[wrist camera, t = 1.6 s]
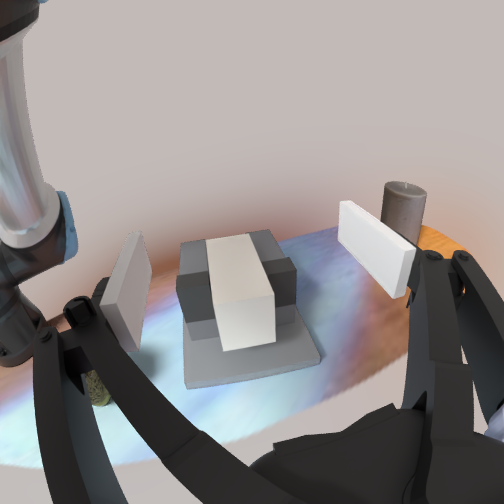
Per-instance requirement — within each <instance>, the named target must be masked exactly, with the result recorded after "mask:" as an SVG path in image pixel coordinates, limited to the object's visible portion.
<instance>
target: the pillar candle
mask: <svg viewBox="0 0 504 504" xmlns="http://www.w3.org/2000/svg"><path fill="white" fill-rule="evenodd" d="M426 196H427V192H426V191H425V190H423V189H422V188H420V187H418V186H416V185H412V184H409V183H406V182H405V183H404V182H397V181H396V182H395V181H392V182H387V183H386V184H385V188H384V196H383V205H382V212H381V222H382V223H383V224H385V225H386V226H387V227H389V228H390V229H392V230H394V231H396V232H399V233H400V234H402V235H403V236H404V237H405V238H407V239H408V240H410V242H412V243H414V244H415V245H416V246H417V242H418V238H419V234H420V229H421V224H422V218H423V213H424V208H425V202H426Z"/></svg>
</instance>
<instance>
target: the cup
mask: <svg viewBox="0 0 504 504" xmlns="http://www.w3.org/2000/svg"><path fill="white" fill-rule="evenodd" d="M85 378H86V383H87V387H88V392H89V396H90V400H91V404H92V405H94V406H98V407H99V406H104V405H106V404H107V403H108V402H109V400H110V397H111V395H110V394H109V392H108V391H107V389H106V388H105V386H104V385H103V383H102V381H101V380H100V378H99V377H98V375H97V373H96V372H95V370H92V371H90V372H87V373H85Z"/></svg>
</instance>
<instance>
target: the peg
mask: <svg viewBox="0 0 504 504" xmlns="http://www.w3.org/2000/svg"><path fill="white" fill-rule="evenodd" d="M206 246H207V255H208V265H209V274H210V283H211V291H212V299H213V306H214V311H215V316H216V320H217V325H218V330H219V334H220V339H221V343H222V347H223V351H229V350H235V349H241V348H246V347H252V346H257V345H262V344H267V343H272V342H276V332H275V297H274V292H273V290H272V287H271V285H270V283H269V280H268V278H267V276H266V273H265V271H264V269H263V266H262V264H261V261H260V259H259V257H258V254H257V252H256V250H255V247H254V245H253V242H252V240H251V238H250V235H249V233H248V234H241V235H235V236H229V237H222V238H216V239H209V240H206Z"/></svg>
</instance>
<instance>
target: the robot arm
mask: <svg viewBox="0 0 504 504" xmlns="http://www.w3.org/2000/svg"><path fill="white" fill-rule="evenodd" d="M47 1H48V0H0V365H1V366H3V367H13V366H16V365H19V364H21V363H23V362H24V361H26V360H27V359H28V358H30V357H31V356H32V355H33V392H34V407H35V418H36V427H37V434H38V441H39V447H40V453H41V458H42V463H43V467H44V472H45V476H46V480H47V484H48V488H49V491H50V495H51V498H52V501H53V504H128V502H127V500H126V498H125V496H124V494H123V491H122V489H121V487H120V485H119V483H118V480H117V478H116V476H115V473H114V471H113V468H112V466H111V463H110V461H109V458H108V455H107V453H106V450H105V447H104V444H103V441H102V438H101V435H100V432H99V429H98V425H97V422H96V419H95V415H94V411H93V408H92V404H91V400H90V396H89V392H88V387H87V383H86V378H85V373H87V372H90V371H92V370H95V372H96V373H97V375H98V377H99V378H100V380H101V381H102V383H103V385H104V386H105V388H106V389H107V391H108V392H109V394H110V395H111V397H112V398H113V400H114V401H115V403H116V404H117V405H118V407H119V408H120V410H121V411H122V412H123V414H124V415H125V417H126V418H127V419H128V421H129V422H130V423H131V425H132V426H133V427H134V428H135V430H136V431H137V432H138V433H139V435H140V436H141V437H142V438H143V440H144V441H145V442H146V443H147V444H148V446H149V447H150V448H151V449H152V450H153V451H154V453H155V454H156V455H157V456H158V457H159V458H160V460H161V461H162V463H163V464H164V466H165V467H166V468H167V469H168V470H169V471H170V472H171V473H172V474H173V475H174V476H175V477H176V478H177V479H178V480H179V481H180V482H181V483H182V484H183V485H184V486H185V487H186V488H187V489H188V490H189V491H190V492H191V493H192V494H193V495H194V496H195V497H196V498H198V499H199V500H200V501H201V502H202V503H203V504H504V302H503V300H502V298H501V297H500V295H499V294H498V292H497V290H496V289H495V287H494V286H493V285H492V283H491V281H490V280H489V278H488V277H487V276H486V274H485V273H484V272H483V270H482V269H481V267H480V266H479V264H478V263H477V262H476V260H475V259H474V258H473V256H472V255H470V254H469V253H468V252H466V251H463V250H462V251H461V250H456V251H454V253H453V256H452V259H444V258H443V256H442V255H441V254H440V253H438V252H436V251H432V250H424V251H423V250H421V249H420V248H419V247H418V246H416V245H415V244H414V243H412V242H410V240H408V239H407V238H405V237H404V236H403V235H402V234H400V233H399V232H396V231H394V230H392V229H390V228H389V227H387V226H386V225H385V224H383V223H382V222H381V221H379V220H378V219H376V218H375V217H374V216H372V215H371V214H369V213H368V212H367V211H365V210H363V209H362V208H361V207H359V206H358V205H356V204H355V203H353V202H352V201H350V200H349V201H340V211H339V228H338V241H339V242H340V243H341V244H342V245H343V246H344V247H345V248H346V249H347V250H348V251H349V252H350V253H351V254H352V255H353V256H354V257H355V258H356V259H357V260H358V262H359V263H360V264H361V265H362V266H363V267H364V268H365V269H366V270H367V271H368V272H369V273H370V274H371V275H372V276H373V278H374V279H375V280H376V281H377V282H378V283H379V284H380V285H381V286H382V287H383V288H384V290H385V291H386V292H387V293H388V294H389V295H390V296H391V297H392V298H393V299H395V298H398V297H401V296H404V295H405V291H406V288H407V286H408V287H409V288H410V289H411V293H410V296H409V300H408V303H407V306H406V308H408V306H409V305H410V317H409V345H408V360H407V371H406V381H405V390H404V397H403V403H402V406H401V409H396V408H395V406H394V404H393V403H391V404H389V405H387V406H384V407H382V408H380V409H377V410H375V411H373V412H370V413H368V414H366V415H365V416H364V417H362V418H361V419H359V420H358V421H356V422H355V423H353V424H352V425H351V426H349V427H348V428H346V429H345V430H343V431H341V432H336V433H326V434H315V435H304V436H301V437H297V438H293V439H289V440H285V441H281V442H277V443H273V451H271V452H269V453H266V454H265V455H263V456H262V457H260V458H259V459H257V460H256V461H255V462H253V463H252V464H251V465H250V466H249V467H248V466H247V465H245V464H244V463H243V462H241V461H240V460H239V459H237V458H236V457H235V456H234V455H232V454H231V453H230V452H228V451H227V450H226V449H225V448H224V447H222V446H221V445H220V444H219V443H218V442H216V441H215V440H214V439H213V438H212V437H210V436H209V435H208V434H207V433H205V432H204V431H200V430H199V429H197V428H196V427H195V426H194V425H193V424H192V423H191V422H190V421H189V420H188V419H186V418H185V417H184V416H183V415H182V414H181V413H180V412H179V411H178V410H177V409H176V408H175V407H174V406H173V405H172V404H171V403H170V402H169V401H168V400H167V399H166V398H165V397H164V395H163V394H162V393H161V392H160V391H159V390H158V389H157V388H156V387H155V386H154V385H153V384H152V382H151V381H150V380H149V379H148V378H147V377H146V376H145V375H144V373H143V372H142V371H141V370H140V369H139V368H138V366H137V365H136V364H135V363H134V362H133V360H132V359H131V358H130V357H129V356H128V354H127V353H126V352H135V351H139V349H140V342H141V334H142V327H143V321H144V315H145V308H146V303H147V297H148V291H149V286H150V281H151V276H152V268H151V264H150V261H149V258H148V254H147V250H146V247H145V243H144V240H143V236H142V232H141V231H138V232H133V233H129V235H128V237H127V239H126V241H125V244H124V246H123V248H122V250H121V253H120V255H119V257H118V260H117V262H116V264H115V267H114V269H113V271H112V274H111V276H110V277H106V278H103V279H102V280H101V281H100V282H99V283H98V284H97V286H96V288H95V290H94V293H93V295H92V298H91V300H90V298H89V297H87V296H79V297H76V298H73V299H72V300H70V301H69V302H68V303H67V304H66V305H65V307H64V309H63V314H64V315H65V317H66V319H67V321H68V323H69V324H70V326H71V329H69V330H66V331H64V332H61V333H59V332H58V331H57V329H56V328H55V327H54V326H47V322H46V320H45V318H44V316H43V314H42V313H41V311H40V310H39V309H38V308H37V307H36V306H35V305H34V304H33V303H32V302H31V301H30V300H29V299H28V298H27V297H26V296H24V294H23V293H22V292H21V291H20V289H19V287H18V285H19V284H21V283H22V282H24V281H26V280H28V279H30V278H32V277H34V276H36V275H38V274H40V273H42V272H44V271H46V270H48V269H50V268H52V267H54V266H57V265H60V264H63V263H64V262H65V261H67V260H69V259H70V258H72V257H74V256H75V255H76V253H77V251H78V240H77V234H76V230H75V227H74V220H73V216H72V211H71V208H70V204H69V201H68V198H67V195H66V194H65V192H63V191H55V189H54V188H53V187H52V186H51V185H50V184H48V183H46V182H44V180H43V176H42V173H41V169H40V165H39V161H38V158H37V154H36V149H35V145H34V140H33V135H32V131H31V125H30V120H29V114H28V107H27V100H26V92H25V83H24V71H23V53H22V51H23V50H22V40H23V38H24V36H25V35H26V34H27V32H28V31H29V30H30V29H31V28H32V26H33V25H34V24H35V23H36V22H37V20H38V15H39V4H40V3H45V2H47ZM464 288H465V293H463V290H464ZM461 346H462V348H463V351H464V354H465V357H466V360H467V363H468V364H463V361H462V351H461ZM472 378H473V379H472ZM473 382H474V385H475V389H476V392H477V396H478V400H479V403H480V406H481V409H482V413H483V415H484V418H485V420H486V423H487V425H488V429H487V430H486V431H485V433H484V435H483V434H480V433H477V432H474V431H473V430H474V398H473Z"/></svg>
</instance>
